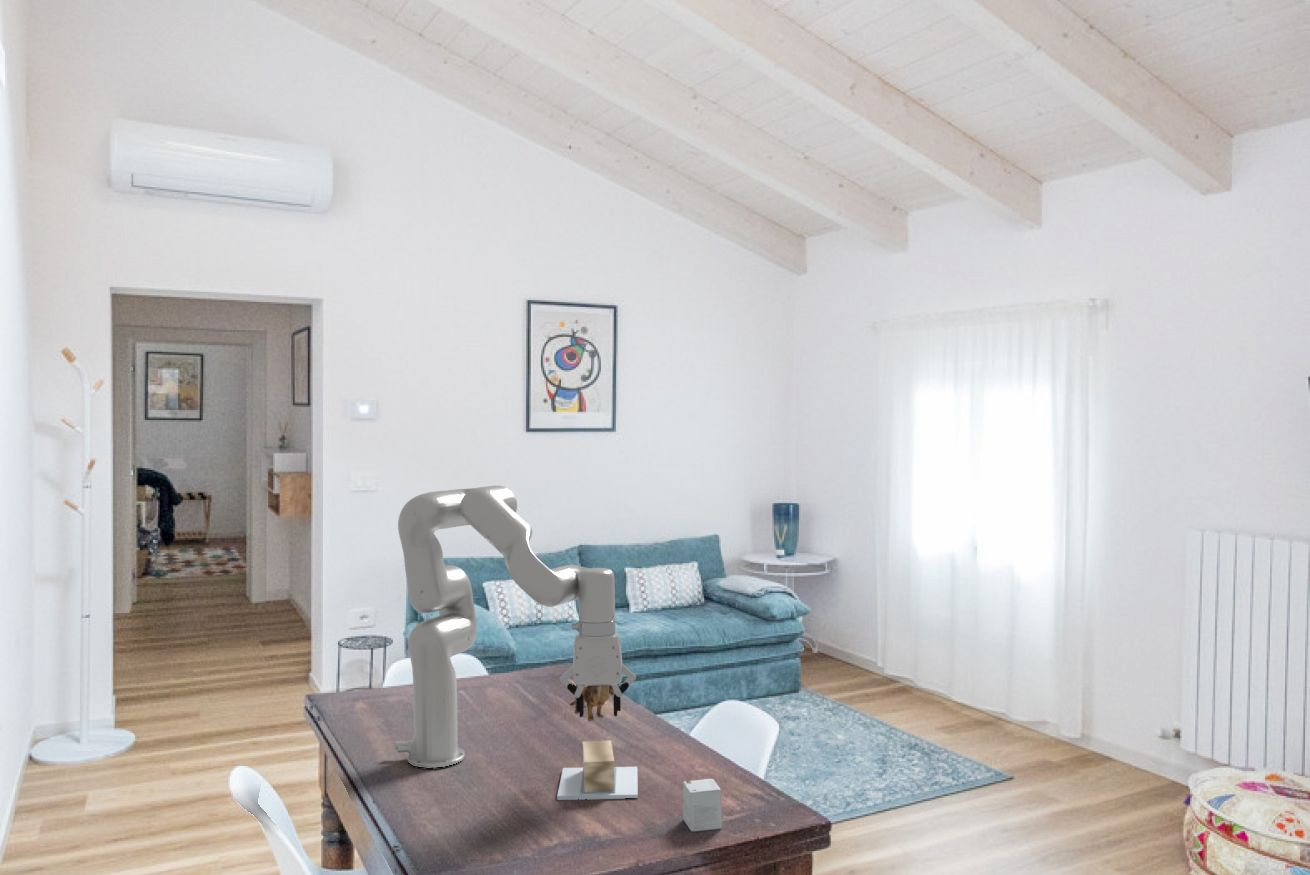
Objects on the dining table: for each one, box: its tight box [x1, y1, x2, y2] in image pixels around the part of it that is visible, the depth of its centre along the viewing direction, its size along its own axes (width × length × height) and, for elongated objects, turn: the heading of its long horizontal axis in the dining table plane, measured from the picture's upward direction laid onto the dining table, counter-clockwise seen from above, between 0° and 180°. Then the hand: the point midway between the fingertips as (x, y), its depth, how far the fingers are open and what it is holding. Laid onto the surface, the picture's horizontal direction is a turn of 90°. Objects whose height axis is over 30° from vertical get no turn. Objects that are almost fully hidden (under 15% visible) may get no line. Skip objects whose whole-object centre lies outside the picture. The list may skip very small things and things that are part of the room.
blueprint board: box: [556, 766, 639, 801], centre depth 204 cm, size 16×16×1 cm
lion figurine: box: [569, 684, 615, 722], centre depth 208 cm, size 15×5×9 cm, turn 38°
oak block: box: [582, 739, 615, 792], centre depth 204 cm, size 6×13×6 cm, turn 6°
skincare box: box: [682, 778, 723, 832], centre depth 184 cm, size 6×6×7 cm
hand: (598, 714), depth 204 cm, fingers closed on lion figurine, 6 cm apart
